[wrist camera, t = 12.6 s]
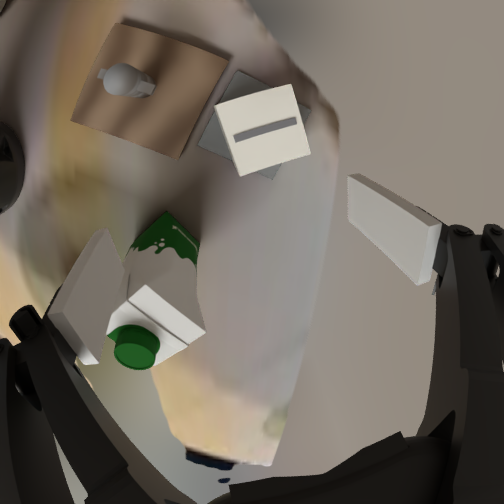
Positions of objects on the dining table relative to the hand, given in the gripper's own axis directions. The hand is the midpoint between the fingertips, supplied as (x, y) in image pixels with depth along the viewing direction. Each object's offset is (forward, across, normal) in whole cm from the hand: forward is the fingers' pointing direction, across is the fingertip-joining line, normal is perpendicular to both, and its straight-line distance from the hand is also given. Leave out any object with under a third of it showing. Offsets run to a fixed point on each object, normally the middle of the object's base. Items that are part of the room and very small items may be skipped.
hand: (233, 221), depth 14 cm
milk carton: (+24, -9, -12) cm, 28 cm away
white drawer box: (+23, +6, +2) cm, 24 cm away
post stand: (+24, -6, +10) cm, 27 cm away
